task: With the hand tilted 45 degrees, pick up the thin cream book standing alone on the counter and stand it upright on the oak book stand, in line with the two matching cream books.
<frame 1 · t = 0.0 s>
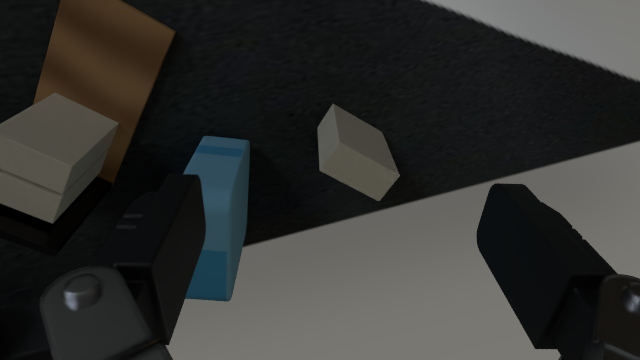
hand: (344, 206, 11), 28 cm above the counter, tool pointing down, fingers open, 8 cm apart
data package: (228, 182, 43), on the counter
rack: (98, 82, 37), on the counter
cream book: (349, 130, 40), on the counter
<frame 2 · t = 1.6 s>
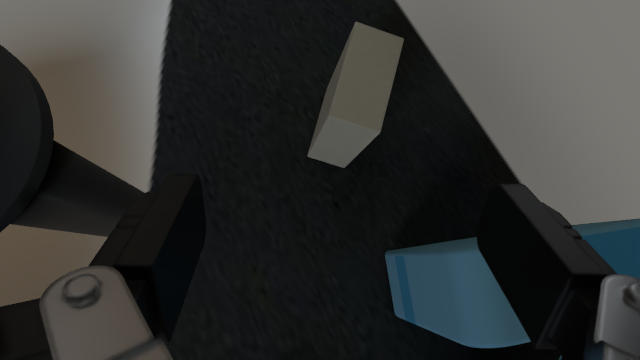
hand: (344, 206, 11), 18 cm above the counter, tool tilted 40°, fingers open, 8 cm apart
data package: (456, 270, 30), on the counter
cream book: (335, 126, 31), on the counter
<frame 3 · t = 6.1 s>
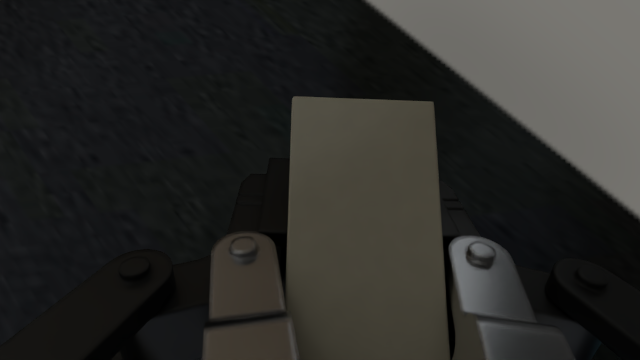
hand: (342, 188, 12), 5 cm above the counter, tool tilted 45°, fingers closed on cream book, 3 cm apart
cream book: (329, 265, 16), on the counter, touching gripper
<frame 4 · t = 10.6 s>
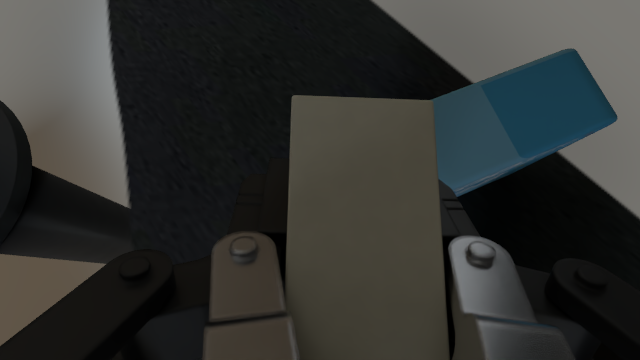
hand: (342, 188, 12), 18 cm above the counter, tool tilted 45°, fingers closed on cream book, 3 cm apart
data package: (431, 176, 31), on the counter
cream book: (329, 264, 16), point 13 cm above the counter, touching gripper
when the fingers open (6 cm above the counter, at t = 15.2 s): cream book stays where it is, resting on rack.
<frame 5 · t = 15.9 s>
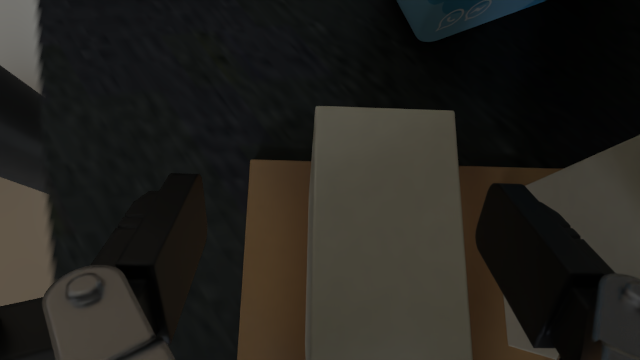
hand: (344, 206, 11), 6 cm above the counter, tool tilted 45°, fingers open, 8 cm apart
rack: (431, 268, 17), on the counter
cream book: (343, 268, 16), point 1 cm above the counter, touching rack
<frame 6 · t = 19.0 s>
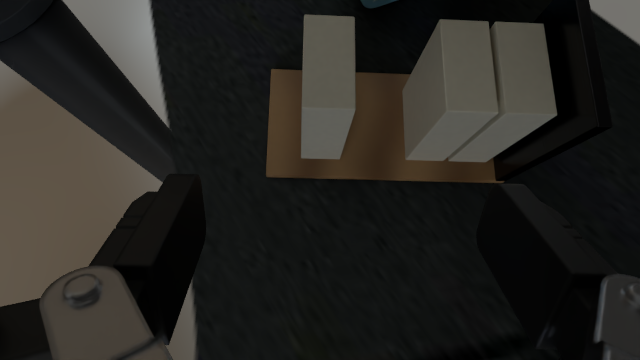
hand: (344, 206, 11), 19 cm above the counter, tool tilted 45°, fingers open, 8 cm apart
rack: (368, 126, 32), on the counter
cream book: (320, 122, 31), point 1 cm above the counter, touching rack
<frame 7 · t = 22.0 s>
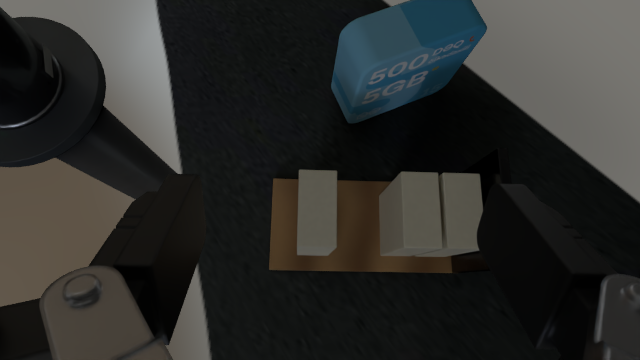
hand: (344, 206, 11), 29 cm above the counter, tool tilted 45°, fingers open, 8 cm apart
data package: (386, 92, 44), on the counter
rack: (351, 225, 40), on the counter
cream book: (313, 224, 39), point 1 cm above the counter, touching rack
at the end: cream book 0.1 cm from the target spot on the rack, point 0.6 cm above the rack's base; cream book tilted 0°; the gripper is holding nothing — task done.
